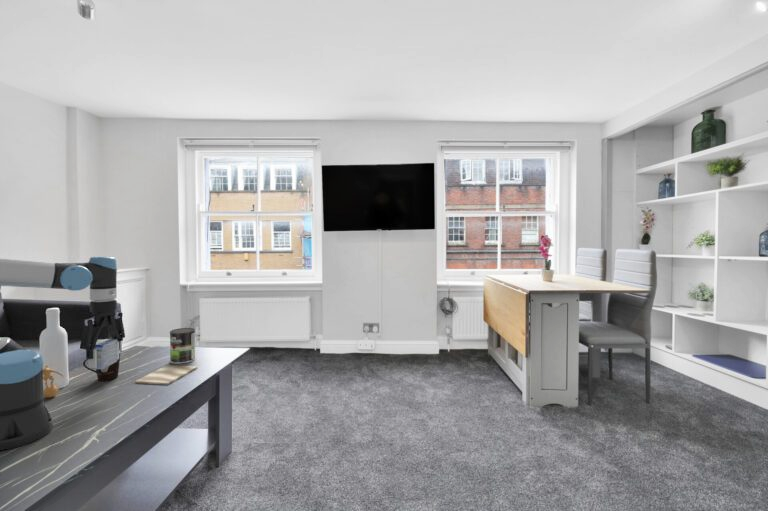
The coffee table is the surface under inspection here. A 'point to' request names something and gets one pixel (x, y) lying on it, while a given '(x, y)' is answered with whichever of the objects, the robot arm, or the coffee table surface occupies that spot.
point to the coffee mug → (107, 371)
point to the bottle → (54, 349)
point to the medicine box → (106, 353)
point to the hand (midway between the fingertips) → (104, 363)
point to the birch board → (166, 375)
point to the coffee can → (182, 345)
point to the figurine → (51, 390)
